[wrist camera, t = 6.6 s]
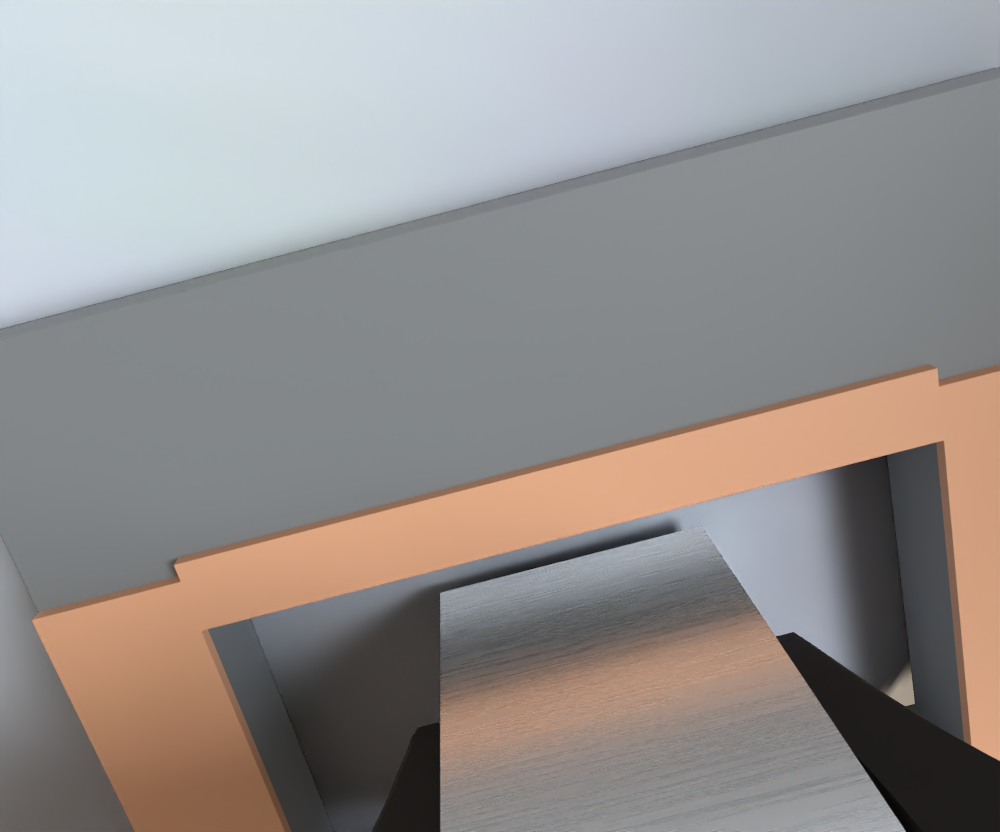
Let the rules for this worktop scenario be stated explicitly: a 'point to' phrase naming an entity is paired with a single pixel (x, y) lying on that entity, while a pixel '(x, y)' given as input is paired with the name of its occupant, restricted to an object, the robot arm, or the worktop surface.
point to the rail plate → (509, 421)
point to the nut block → (635, 705)
